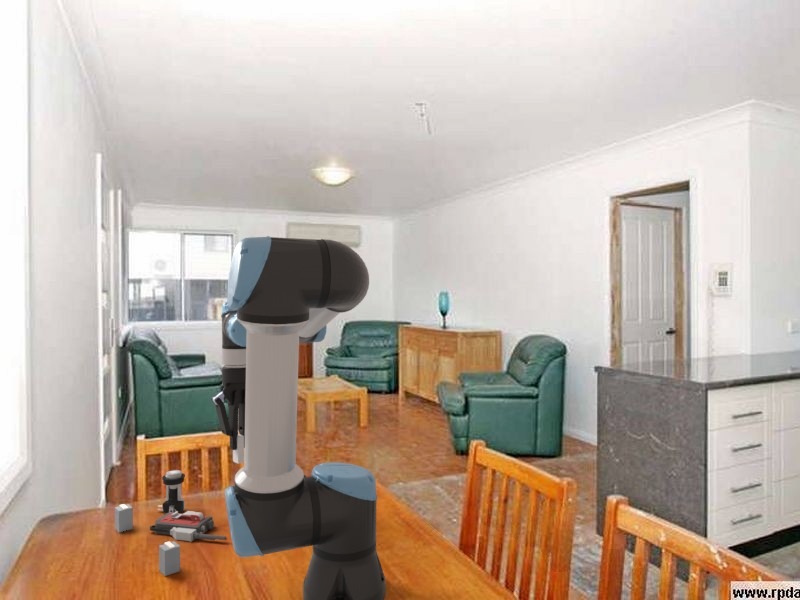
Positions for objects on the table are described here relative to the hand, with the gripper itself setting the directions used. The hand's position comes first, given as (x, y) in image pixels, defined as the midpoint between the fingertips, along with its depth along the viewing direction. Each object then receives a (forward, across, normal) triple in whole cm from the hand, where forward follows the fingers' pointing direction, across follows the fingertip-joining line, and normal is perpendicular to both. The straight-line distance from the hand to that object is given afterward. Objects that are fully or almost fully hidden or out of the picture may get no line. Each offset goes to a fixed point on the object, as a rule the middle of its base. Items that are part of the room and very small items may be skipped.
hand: (238, 461), depth 136 cm
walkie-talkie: (+15, +11, 0) cm, 18 cm away
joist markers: (+14, +22, 0) cm, 26 cm away
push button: (+14, +10, -16) cm, 23 cm away
